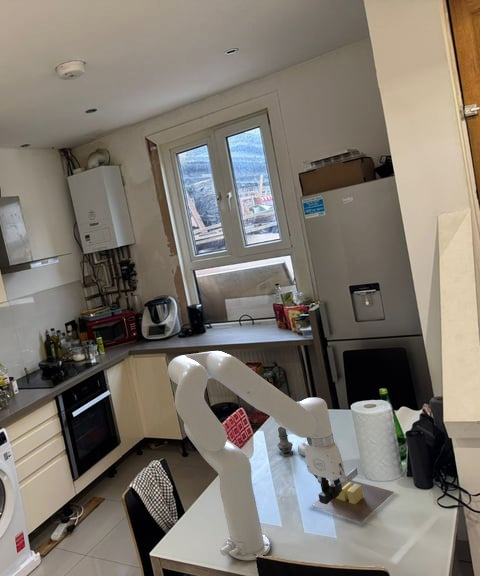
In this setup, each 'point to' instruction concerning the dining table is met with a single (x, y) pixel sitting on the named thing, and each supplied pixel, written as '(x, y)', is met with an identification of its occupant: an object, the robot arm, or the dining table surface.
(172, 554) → the dining table surface
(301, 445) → the donut
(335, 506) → the butter board
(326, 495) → the knife
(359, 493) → the butter pat
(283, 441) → the grey chess piece
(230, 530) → the robot arm
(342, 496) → the butter block
